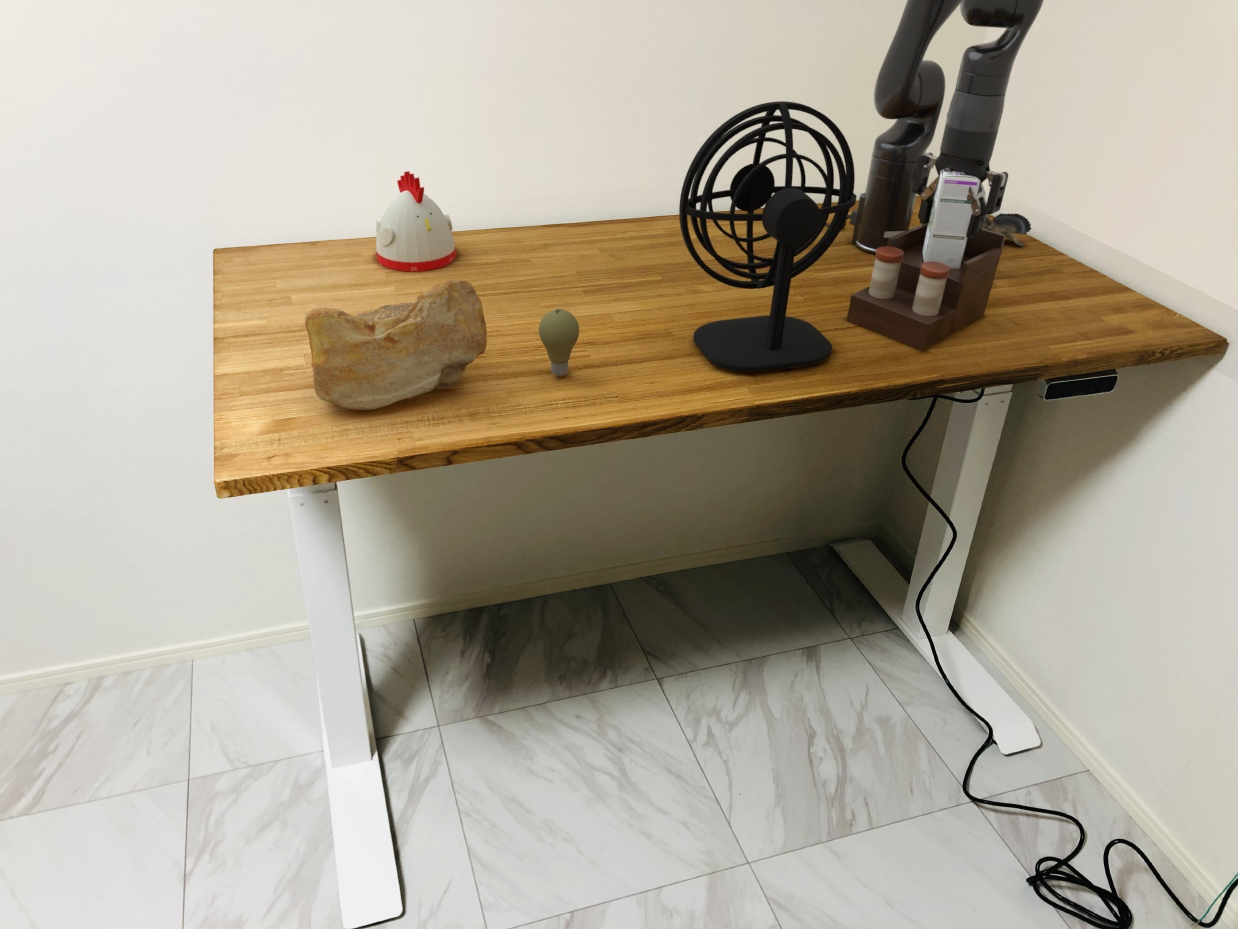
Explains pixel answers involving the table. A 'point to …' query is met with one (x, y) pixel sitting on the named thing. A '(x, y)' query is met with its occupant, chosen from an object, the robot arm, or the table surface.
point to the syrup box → (949, 219)
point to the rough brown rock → (396, 347)
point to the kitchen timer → (414, 231)
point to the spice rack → (926, 289)
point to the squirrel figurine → (1008, 225)
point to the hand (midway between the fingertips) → (947, 229)
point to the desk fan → (767, 236)
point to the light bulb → (559, 338)
